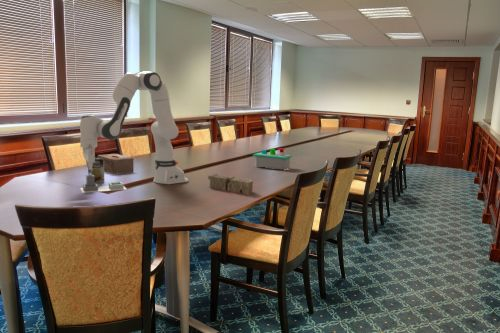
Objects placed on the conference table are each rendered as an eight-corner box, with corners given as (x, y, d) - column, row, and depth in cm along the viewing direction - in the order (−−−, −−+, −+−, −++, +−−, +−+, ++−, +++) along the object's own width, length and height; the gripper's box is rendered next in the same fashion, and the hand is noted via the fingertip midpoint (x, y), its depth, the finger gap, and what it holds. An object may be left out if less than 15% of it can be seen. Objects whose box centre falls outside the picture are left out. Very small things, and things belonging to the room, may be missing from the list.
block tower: (254, 194, 249) (215, 185, 263) (255, 180, 247) (215, 172, 262) (247, 196, 242) (207, 187, 257) (248, 182, 241) (208, 174, 255)
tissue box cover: (133, 171, 297) (133, 158, 295) (114, 174, 287) (114, 160, 285) (116, 166, 315) (115, 153, 313) (98, 168, 305) (97, 155, 303)
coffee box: (88, 185, 250) (87, 159, 248) (89, 183, 256) (88, 157, 254) (104, 185, 253) (103, 159, 250) (104, 182, 259) (104, 157, 256)
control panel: (259, 144, 343) (293, 148, 331) (258, 164, 346) (292, 168, 334) (252, 146, 329) (287, 150, 317) (251, 167, 332) (286, 171, 320)
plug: (93, 188, 237) (93, 173, 235) (94, 190, 233) (94, 174, 232) (86, 189, 235) (85, 173, 233) (87, 190, 232) (86, 174, 230)
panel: (122, 187, 249) (122, 180, 248) (127, 191, 238) (127, 185, 238) (80, 190, 237) (79, 183, 237) (82, 195, 227) (82, 188, 226)
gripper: (97, 146, 222) (98, 171, 224) (92, 141, 240) (92, 165, 242) (85, 146, 219) (85, 171, 221) (80, 141, 237) (81, 165, 239)
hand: (89, 168), depth 232 cm, fingers open, 8 cm apart
